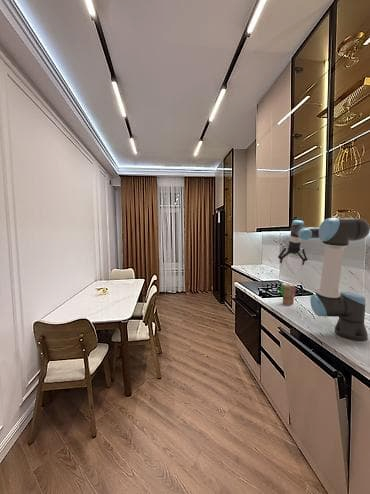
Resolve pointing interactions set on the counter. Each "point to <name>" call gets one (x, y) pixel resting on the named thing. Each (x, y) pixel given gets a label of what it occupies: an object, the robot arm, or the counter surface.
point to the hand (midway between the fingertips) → (290, 267)
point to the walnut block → (288, 295)
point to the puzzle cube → (285, 285)
